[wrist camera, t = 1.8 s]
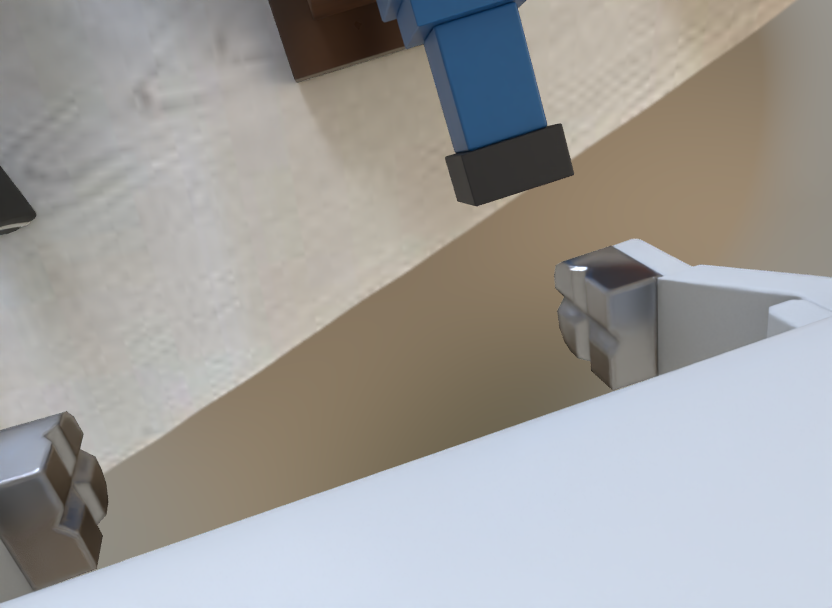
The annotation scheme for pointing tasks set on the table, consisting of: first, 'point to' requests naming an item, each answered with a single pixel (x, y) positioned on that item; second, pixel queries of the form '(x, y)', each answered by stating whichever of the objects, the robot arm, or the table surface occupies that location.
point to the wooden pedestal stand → (333, 34)
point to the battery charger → (13, 206)
